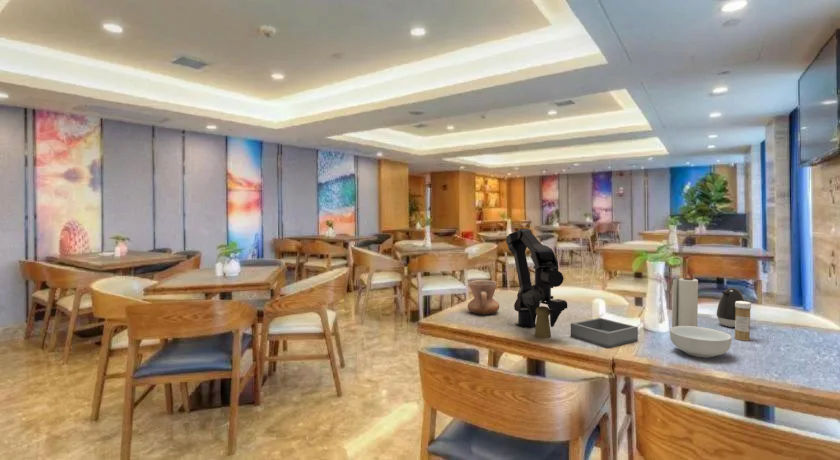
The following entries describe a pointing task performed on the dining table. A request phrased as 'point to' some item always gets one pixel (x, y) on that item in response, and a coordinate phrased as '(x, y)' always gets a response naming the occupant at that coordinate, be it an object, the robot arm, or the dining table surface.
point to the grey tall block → (685, 302)
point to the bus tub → (604, 332)
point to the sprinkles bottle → (742, 320)
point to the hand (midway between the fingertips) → (542, 324)
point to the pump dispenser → (728, 306)
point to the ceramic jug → (483, 297)
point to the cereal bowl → (700, 341)
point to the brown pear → (542, 323)
